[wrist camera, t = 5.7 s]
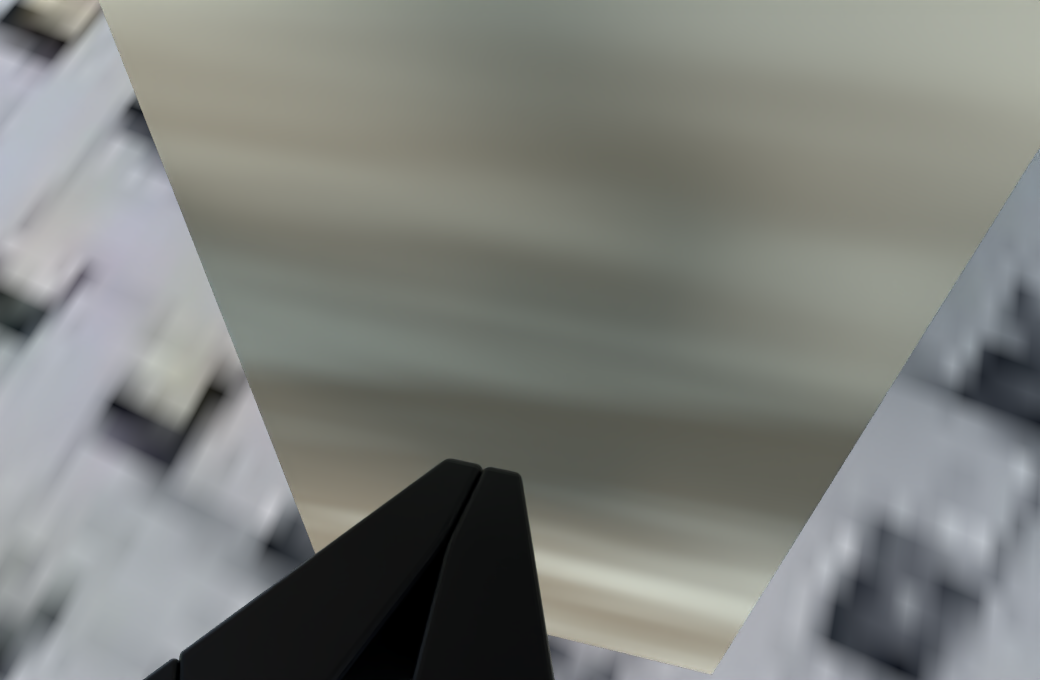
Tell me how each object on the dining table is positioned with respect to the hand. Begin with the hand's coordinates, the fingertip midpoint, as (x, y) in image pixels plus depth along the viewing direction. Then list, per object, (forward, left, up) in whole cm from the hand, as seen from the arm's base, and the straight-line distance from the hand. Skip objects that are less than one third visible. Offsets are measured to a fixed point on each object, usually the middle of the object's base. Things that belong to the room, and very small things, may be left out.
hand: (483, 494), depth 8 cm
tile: (-1, +1, -8) cm, 8 cm away
